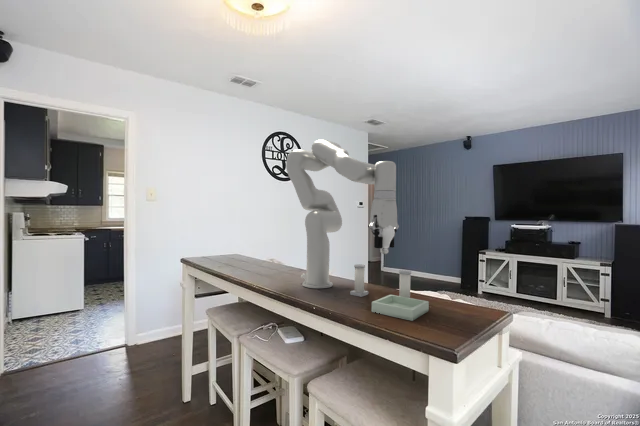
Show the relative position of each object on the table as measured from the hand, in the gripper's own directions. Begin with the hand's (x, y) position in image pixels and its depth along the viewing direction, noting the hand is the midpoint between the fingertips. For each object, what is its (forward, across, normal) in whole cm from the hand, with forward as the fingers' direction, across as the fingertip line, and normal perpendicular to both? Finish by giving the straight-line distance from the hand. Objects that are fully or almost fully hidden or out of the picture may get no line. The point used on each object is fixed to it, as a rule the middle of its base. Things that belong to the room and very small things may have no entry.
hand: (384, 247), depth 113 cm
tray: (+19, +6, +12) cm, 23 cm away
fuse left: (+19, +1, -11) cm, 22 cm away
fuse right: (+19, -3, +7) cm, 20 cm away
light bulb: (+3, 0, 0) cm, 3 cm away
